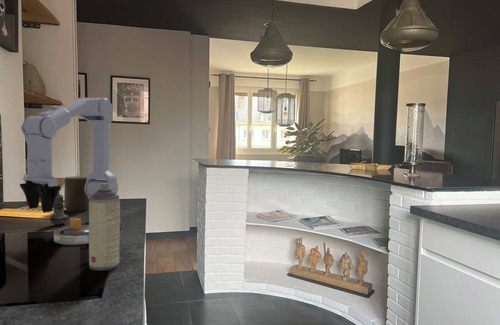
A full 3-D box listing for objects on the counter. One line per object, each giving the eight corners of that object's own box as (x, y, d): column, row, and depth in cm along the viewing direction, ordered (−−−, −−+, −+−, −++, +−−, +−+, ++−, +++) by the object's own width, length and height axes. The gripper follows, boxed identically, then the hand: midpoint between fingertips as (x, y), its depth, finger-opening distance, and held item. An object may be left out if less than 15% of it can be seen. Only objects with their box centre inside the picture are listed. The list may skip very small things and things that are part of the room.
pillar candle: (83, 212, 142) (83, 175, 142) (59, 211, 143) (59, 174, 142) (94, 208, 152) (94, 173, 151) (71, 207, 152) (72, 172, 151)
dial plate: (89, 231, 116) (89, 221, 116) (118, 239, 108) (118, 229, 108) (42, 241, 104) (41, 230, 103) (70, 252, 95) (70, 240, 95)
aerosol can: (104, 258, 91) (105, 181, 90) (125, 263, 88) (126, 183, 87) (82, 267, 85) (82, 184, 83) (104, 272, 82) (104, 186, 81)
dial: (104, 236, 107) (104, 219, 107) (74, 243, 99) (74, 225, 99) (86, 231, 112) (85, 215, 112) (56, 237, 105) (56, 220, 104)
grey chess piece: (60, 229, 117) (59, 193, 116) (44, 228, 118) (44, 192, 117) (72, 225, 122) (72, 191, 122) (57, 224, 124) (57, 190, 123)
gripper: (11, 159, 98) (12, 208, 99) (37, 162, 90) (38, 216, 91) (38, 158, 104) (38, 204, 105) (65, 161, 96) (65, 211, 97)
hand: (40, 209), depth 98 cm, fingers open, 7 cm apart
